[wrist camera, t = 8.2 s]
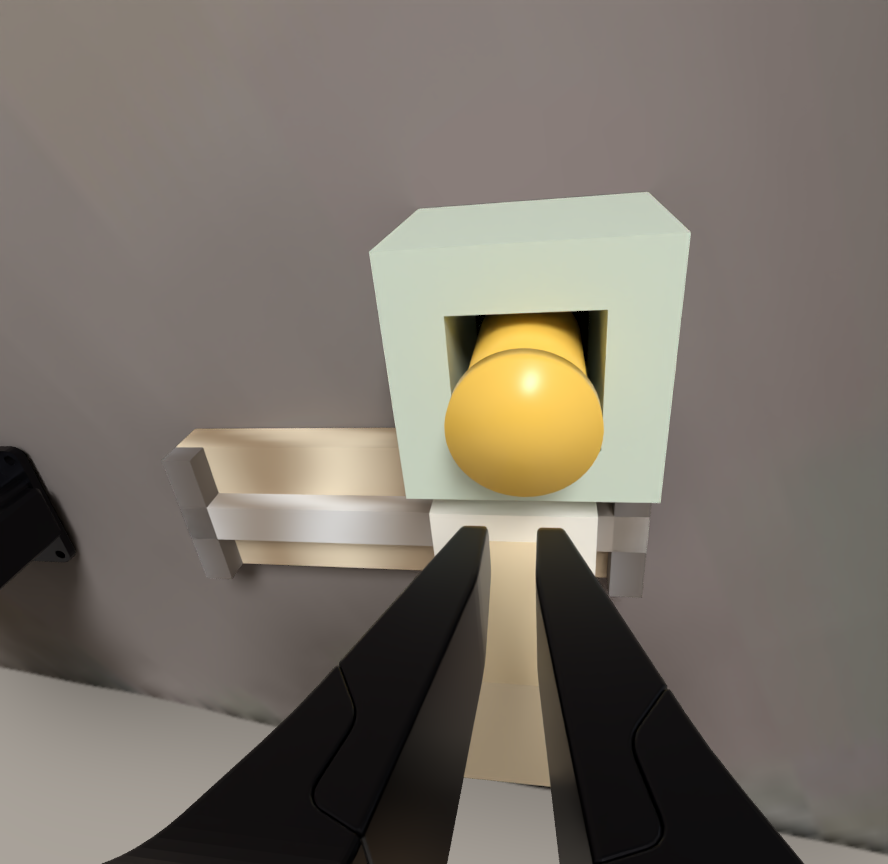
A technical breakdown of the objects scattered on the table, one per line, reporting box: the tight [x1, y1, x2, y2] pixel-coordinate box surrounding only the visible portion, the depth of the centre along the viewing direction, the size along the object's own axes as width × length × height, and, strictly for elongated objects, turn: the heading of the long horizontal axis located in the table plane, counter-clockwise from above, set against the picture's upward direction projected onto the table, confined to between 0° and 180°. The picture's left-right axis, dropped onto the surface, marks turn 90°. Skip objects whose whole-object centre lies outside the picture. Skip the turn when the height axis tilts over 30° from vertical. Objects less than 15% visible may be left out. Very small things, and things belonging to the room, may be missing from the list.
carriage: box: [429, 499, 598, 787], centre depth 18 cm, size 5×6×8 cm
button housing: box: [369, 192, 691, 503], centre depth 17 cm, size 7×7×6 cm
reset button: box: [444, 311, 604, 497], centre depth 15 cm, size 3×3×5 cm
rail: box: [161, 428, 652, 598], centre depth 23 cm, size 18×6×2 cm, turn 95°
